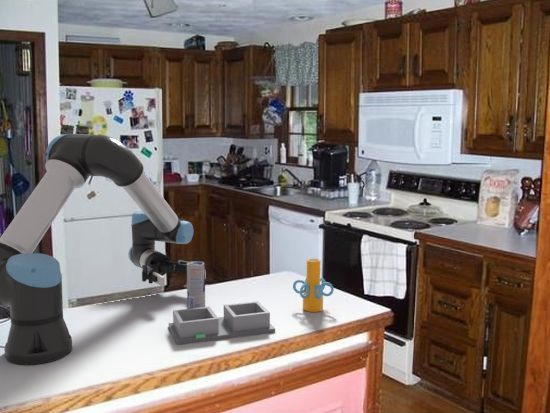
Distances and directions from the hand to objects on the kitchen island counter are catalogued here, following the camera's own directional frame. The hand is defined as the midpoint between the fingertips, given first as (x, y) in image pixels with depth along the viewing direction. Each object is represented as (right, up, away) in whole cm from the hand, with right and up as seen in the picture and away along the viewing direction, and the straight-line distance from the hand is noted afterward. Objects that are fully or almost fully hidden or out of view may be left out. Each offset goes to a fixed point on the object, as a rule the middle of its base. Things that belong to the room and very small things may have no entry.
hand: (184, 278), depth 173 cm
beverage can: (+4, -10, -5) cm, 12 cm away
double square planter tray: (+13, -11, -18) cm, 25 cm away
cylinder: (+38, -9, -1) cm, 39 cm away
